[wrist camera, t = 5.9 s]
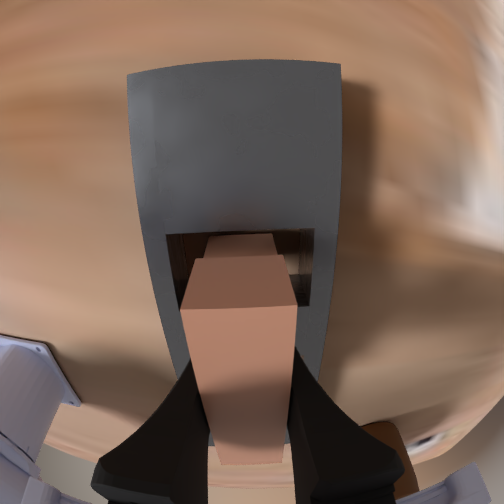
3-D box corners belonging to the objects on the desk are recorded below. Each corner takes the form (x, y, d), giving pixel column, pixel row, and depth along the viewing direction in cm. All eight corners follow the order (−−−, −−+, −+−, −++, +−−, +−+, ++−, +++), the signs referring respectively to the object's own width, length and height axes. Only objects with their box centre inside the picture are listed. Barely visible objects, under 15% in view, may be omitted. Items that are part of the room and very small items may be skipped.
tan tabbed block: (225, 369, 18) (221, 464, 11) (208, 221, 14) (180, 309, 7) (271, 367, 18) (281, 462, 11) (271, 218, 14) (297, 304, 7)
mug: (373, 458, 28) (389, 514, 20) (319, 469, 28) (330, 530, 20) (405, 412, 23) (434, 483, 15) (338, 427, 23) (358, 509, 15)
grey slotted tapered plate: (204, 416, 21) (201, 445, 19) (150, 83, 11) (127, 74, 9) (299, 413, 21) (304, 441, 19) (320, 75, 11) (340, 63, 9)
